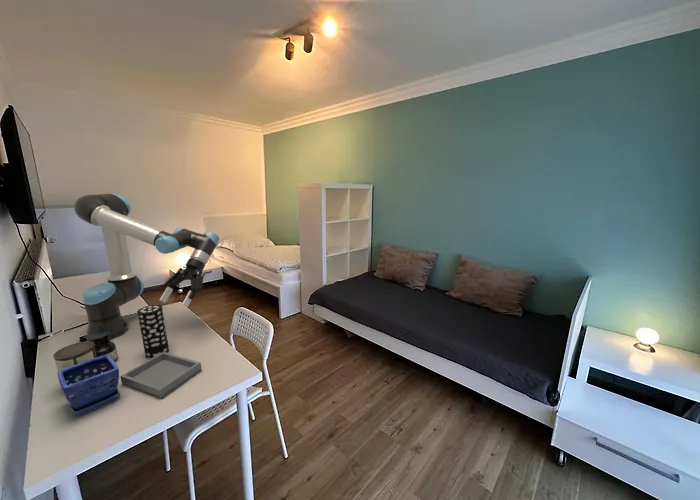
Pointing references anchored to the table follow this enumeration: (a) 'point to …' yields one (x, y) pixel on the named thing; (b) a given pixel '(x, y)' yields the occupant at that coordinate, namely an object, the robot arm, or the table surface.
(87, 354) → the coffee can
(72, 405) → the flower pot
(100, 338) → the ink bottle
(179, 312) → the table surface
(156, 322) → the white-spotted black cylinder
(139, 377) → the tray
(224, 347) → the table surface
